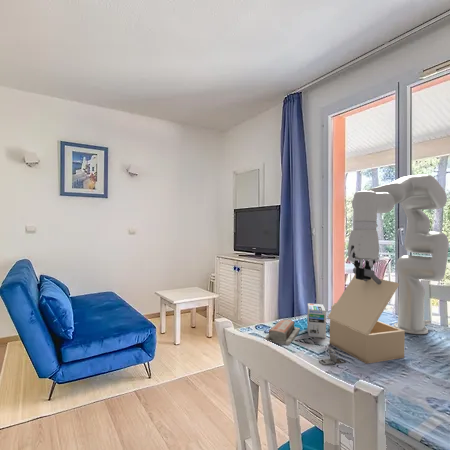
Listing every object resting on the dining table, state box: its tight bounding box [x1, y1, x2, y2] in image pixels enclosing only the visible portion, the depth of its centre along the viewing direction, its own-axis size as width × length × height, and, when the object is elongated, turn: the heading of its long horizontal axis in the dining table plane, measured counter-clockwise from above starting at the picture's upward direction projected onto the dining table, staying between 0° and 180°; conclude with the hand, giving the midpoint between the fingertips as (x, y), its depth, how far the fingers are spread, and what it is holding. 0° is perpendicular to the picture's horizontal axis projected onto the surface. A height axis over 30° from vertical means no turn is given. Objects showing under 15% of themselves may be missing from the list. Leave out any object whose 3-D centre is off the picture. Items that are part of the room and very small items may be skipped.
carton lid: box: [327, 267, 399, 335], centre depth 110 cm, size 20×19×8 cm
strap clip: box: [318, 348, 347, 366], centre depth 101 cm, size 8×3×4 cm, turn 108°
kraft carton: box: [329, 319, 406, 365], centre depth 111 cm, size 16×18×9 cm
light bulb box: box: [306, 302, 327, 339], centre depth 128 cm, size 11×7×11 cm, turn 168°
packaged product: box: [263, 319, 301, 346], centre depth 125 cm, size 18×5×10 cm
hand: (363, 278), depth 111 cm, fingers closed on carton lid, 2 cm apart
